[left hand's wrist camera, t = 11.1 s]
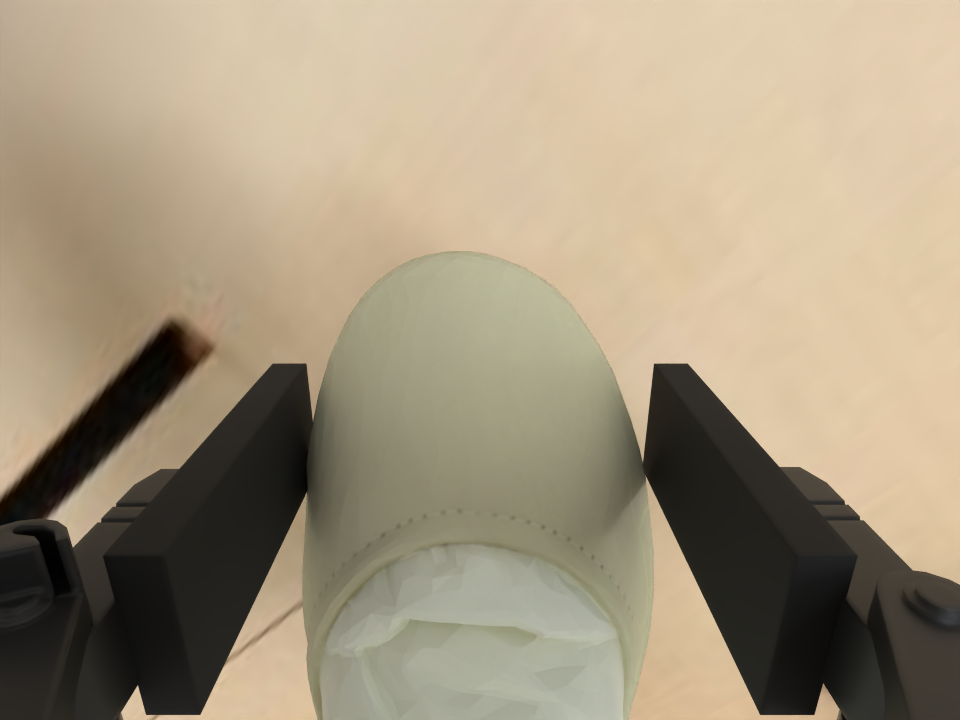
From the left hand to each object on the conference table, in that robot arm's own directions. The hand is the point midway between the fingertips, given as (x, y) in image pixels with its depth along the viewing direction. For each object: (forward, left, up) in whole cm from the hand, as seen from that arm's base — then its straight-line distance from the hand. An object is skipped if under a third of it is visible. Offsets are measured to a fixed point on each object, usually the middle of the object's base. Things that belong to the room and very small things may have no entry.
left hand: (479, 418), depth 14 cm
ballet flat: (+8, -1, -1) cm, 8 cm away
